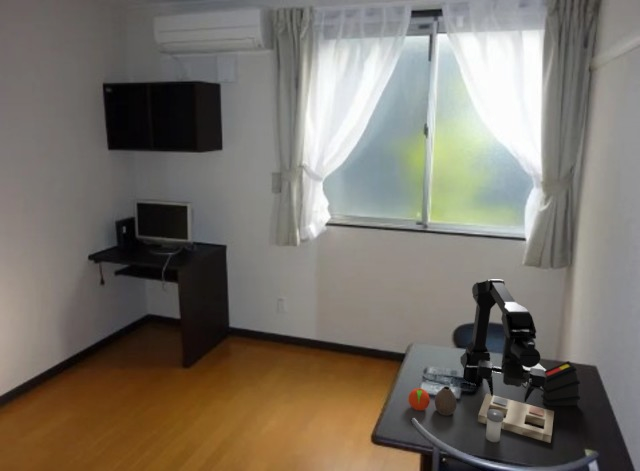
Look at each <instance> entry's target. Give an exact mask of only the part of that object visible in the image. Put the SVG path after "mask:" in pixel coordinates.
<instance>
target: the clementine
mask: <svg viewBox="0 0 640 471" xmlns="http://www.w3.org/2000/svg"><path fill="white" fill-rule="evenodd" d="M430 401H431V400H430V395H429V393H428V392H427V391H426V390H425V389H423V388H421V387H419V388H413V389H412V390H411V391H410V392H409V395H408V403H409V406H410V407H411V408H412V409H414V410H416V411H424V410H425V409H427V408H428V407H429V405H430Z"/></svg>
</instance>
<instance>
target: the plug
mask: <svg viewBox="0 0 640 471" xmlns="http://www.w3.org/2000/svg"><path fill="white" fill-rule="evenodd" d="M486 416H487V418H488V419H487V424H486V430H485V439H486V440H488V441H490V442H492V443H498V442H499V441H500V438H501V433H502V432H501V431H502V430H501V424H502V421H503V419H504V418H505V415H504V414H503V413H502V412H501V411H499V410H496V409H489V410H488V411H487V415H486Z"/></svg>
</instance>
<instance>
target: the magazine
mask: <svg viewBox="0 0 640 471" xmlns="http://www.w3.org/2000/svg"><path fill="white" fill-rule="evenodd" d="M576 372H577V368H576V366H574V364H573V363H572V362H570V361H569V360H567V361H565V362H562V363H560V364H557V365H556V366H554V367H550V368H549V369H546V371H545V374H546V378H547V382H546V386H545V387H542V386H541V387H542V388H543V389H542V390H543V391H542V392H543V393H542V394H541V395H540V396H541V398H542V402H543V403H544V404H545V406H548V407H549V406H553V407H554V406H558V407H559V406H578V402H579V400H580V399H581V396H580V395H579V385H580V384H581V383H580V380H579V379H578V375H577V373H576Z"/></svg>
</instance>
